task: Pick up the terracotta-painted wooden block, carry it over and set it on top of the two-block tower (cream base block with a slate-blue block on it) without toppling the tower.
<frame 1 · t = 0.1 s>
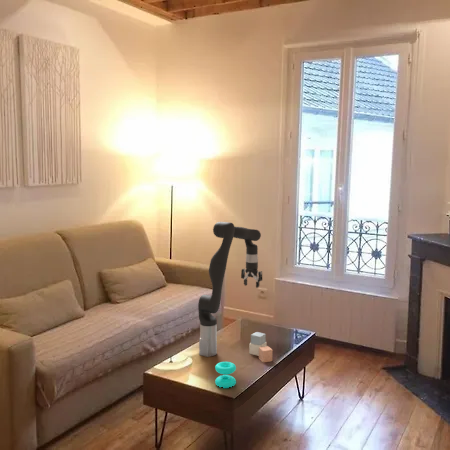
hand: (251, 286, 307), 29 cm above the table, fingers open, 8 cm apart
donuts: (225, 384, 236), on the table
cream base block: (257, 353, 275), on the table, touching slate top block
terracotta block: (265, 360, 266), on the table
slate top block: (258, 342, 275), point 6 cm above the table, touching cream base block
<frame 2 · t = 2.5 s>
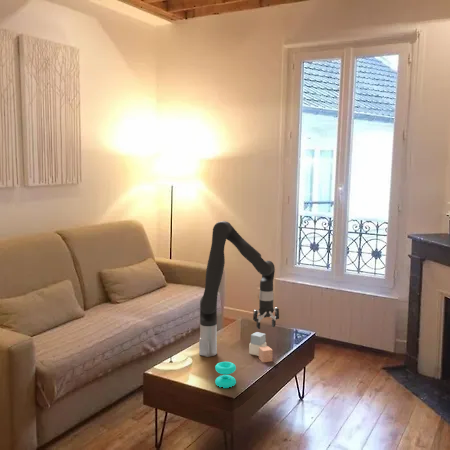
hand: (266, 327, 264), 18 cm above the table, fingers open, 8 cm apart
nothing on the table moved.
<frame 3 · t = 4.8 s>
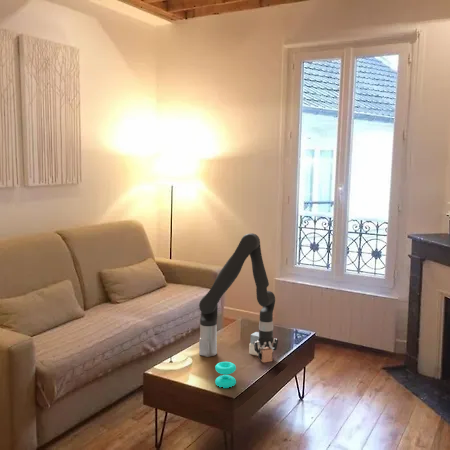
hand: (265, 358, 266), 1 cm above the table, fingers closed on terracotta block, 5 cm apart
terracotta block: (265, 359, 266), on the table, touching gripper
everything else where it was.
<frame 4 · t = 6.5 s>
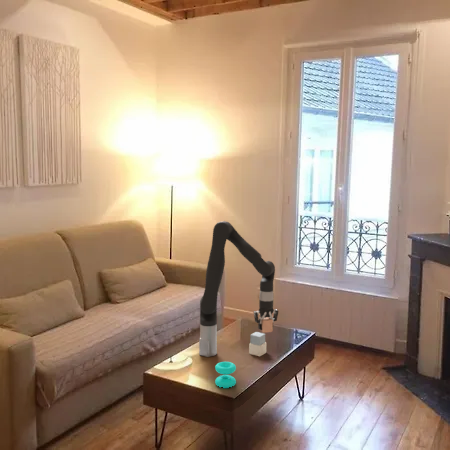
hand: (265, 329, 264), 17 cm above the table, fingers closed on terracotta block, 5 cm apart
terracotta block: (265, 330, 264), point 16 cm above the table, touching gripper
everything else where it was.
when the fingers open (13 cm above the table, at t = 8.5 s): terracotta block drops 1 cm, resting on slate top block.
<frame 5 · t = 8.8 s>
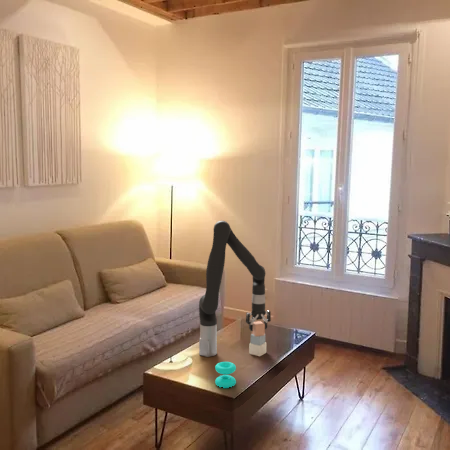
hand: (258, 329, 274), 13 cm above the table, fingers open, 8 cm apart
terracotta block: (258, 334, 274), point 11 cm above the table, touching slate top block
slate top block: (257, 342, 275), point 6 cm above the table, touching cream base block, terracotta block
everything else where it was.
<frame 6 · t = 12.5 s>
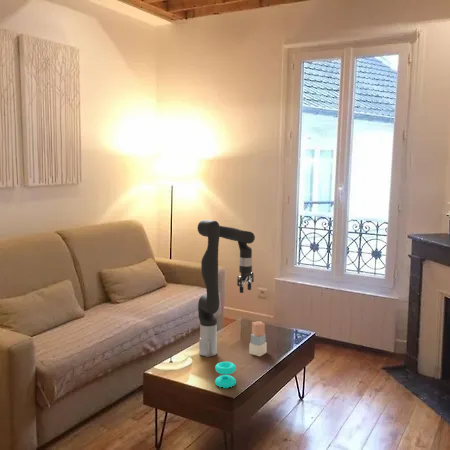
hand: (245, 291, 292), 30 cm above the table, fingers open, 8 cm apart
nothing on the table moved.
at the end: terracotta block 0.1 cm off-centre on the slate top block, point 5.0 cm above the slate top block's base; terracotta block tilted 0°; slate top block tilted 0° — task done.
